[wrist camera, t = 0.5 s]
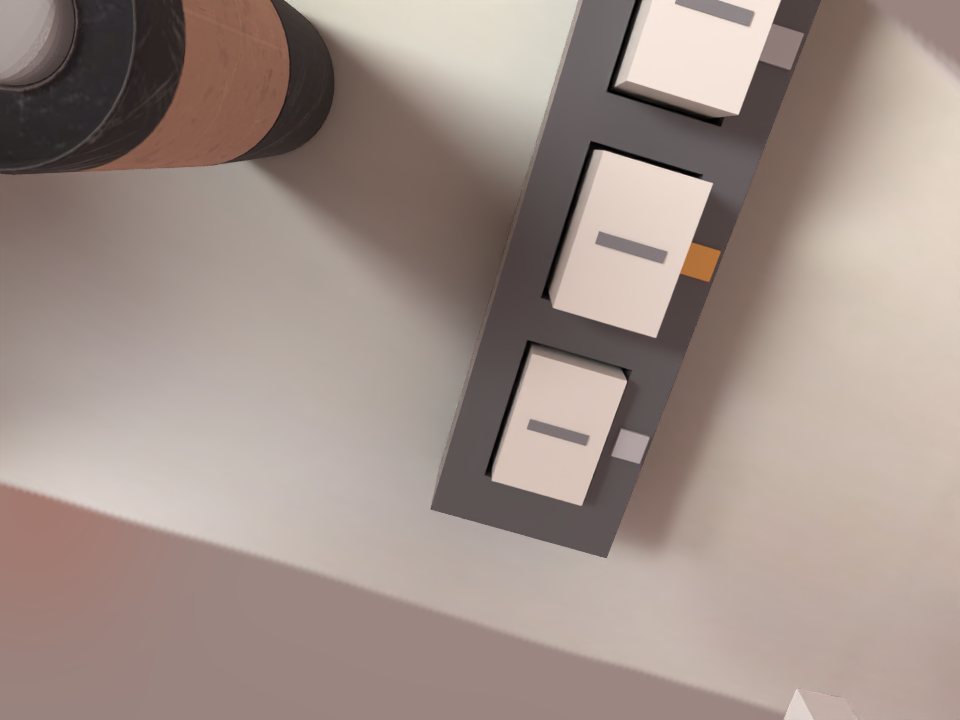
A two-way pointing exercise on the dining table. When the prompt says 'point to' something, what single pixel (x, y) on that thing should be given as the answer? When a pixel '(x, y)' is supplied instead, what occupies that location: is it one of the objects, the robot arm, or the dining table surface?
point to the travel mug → (156, 83)
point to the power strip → (530, 316)
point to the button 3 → (694, 53)
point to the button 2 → (625, 242)
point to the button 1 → (556, 422)
